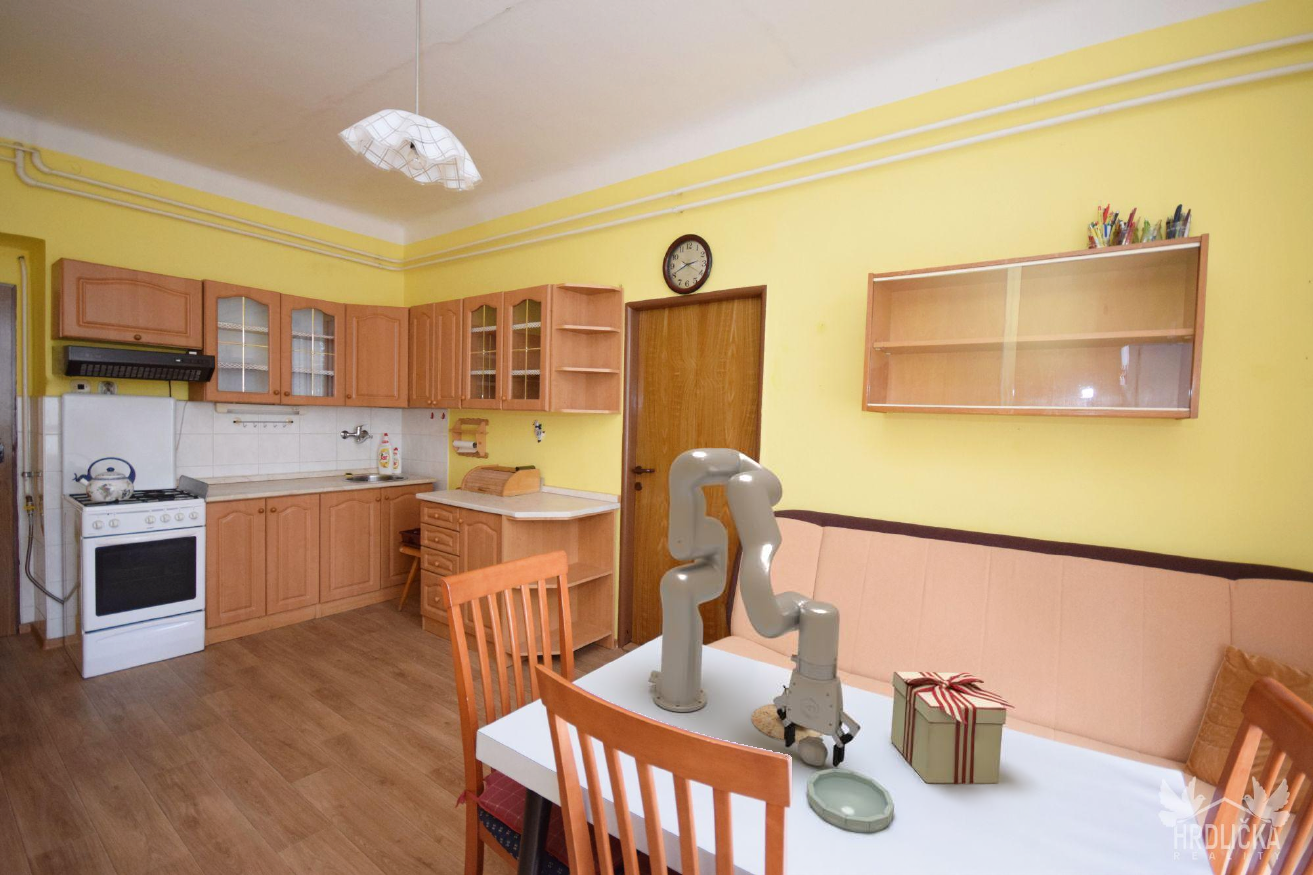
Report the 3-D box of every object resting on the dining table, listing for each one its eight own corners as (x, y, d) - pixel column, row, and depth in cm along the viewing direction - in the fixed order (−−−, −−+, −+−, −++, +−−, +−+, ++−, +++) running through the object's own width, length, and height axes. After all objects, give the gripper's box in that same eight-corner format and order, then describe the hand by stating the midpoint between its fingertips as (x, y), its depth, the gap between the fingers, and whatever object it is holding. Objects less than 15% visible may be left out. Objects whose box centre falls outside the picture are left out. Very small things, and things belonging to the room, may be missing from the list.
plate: (794, 806, 99) (794, 795, 99) (825, 770, 110) (825, 759, 110) (877, 845, 91) (878, 833, 91) (902, 801, 102) (903, 790, 102)
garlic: (833, 764, 112) (835, 737, 112) (818, 774, 109) (819, 747, 109) (807, 750, 117) (808, 724, 117) (791, 759, 113) (792, 733, 113)
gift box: (939, 798, 103) (944, 703, 103) (883, 741, 121) (887, 660, 121) (1024, 793, 106) (1029, 700, 105) (957, 738, 124) (961, 658, 123)
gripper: (767, 660, 115) (764, 745, 115) (854, 687, 104) (850, 781, 105) (784, 649, 121) (780, 730, 121) (868, 674, 110) (864, 762, 111)
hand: (813, 753), depth 113 cm, fingers open, 9 cm apart
